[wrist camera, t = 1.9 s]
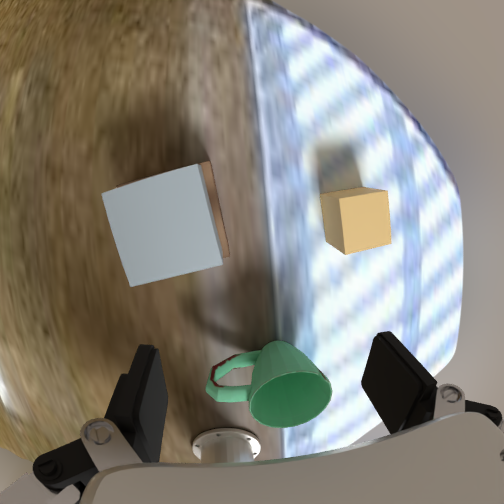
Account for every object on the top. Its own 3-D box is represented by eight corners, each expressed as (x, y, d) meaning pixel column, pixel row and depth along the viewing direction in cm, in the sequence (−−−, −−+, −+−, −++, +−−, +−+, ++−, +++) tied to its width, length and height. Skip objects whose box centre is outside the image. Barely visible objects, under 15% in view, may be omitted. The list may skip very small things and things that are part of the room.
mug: (317, 326, 38) (343, 369, 28) (300, 379, 40) (319, 425, 31) (210, 319, 36) (208, 366, 26) (204, 376, 38) (203, 426, 29)
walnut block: (228, 245, 34) (229, 256, 30) (149, 263, 33) (140, 275, 29) (211, 162, 31) (209, 160, 27) (129, 183, 31) (116, 185, 26)
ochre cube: (367, 232, 35) (391, 243, 29) (325, 241, 35) (345, 254, 29) (362, 186, 33) (387, 190, 28) (319, 193, 33) (339, 198, 27)
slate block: (222, 251, 29) (222, 264, 25) (142, 271, 29) (130, 287, 25) (201, 165, 27) (197, 163, 23) (118, 190, 27) (101, 193, 22)
